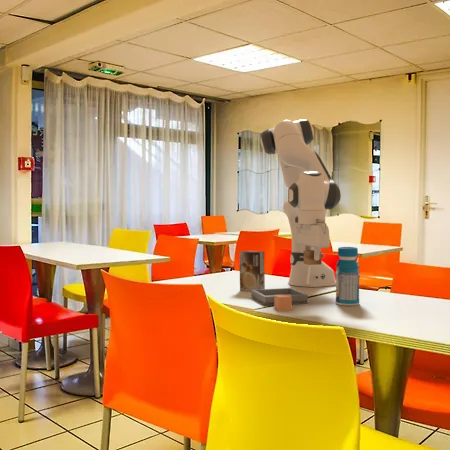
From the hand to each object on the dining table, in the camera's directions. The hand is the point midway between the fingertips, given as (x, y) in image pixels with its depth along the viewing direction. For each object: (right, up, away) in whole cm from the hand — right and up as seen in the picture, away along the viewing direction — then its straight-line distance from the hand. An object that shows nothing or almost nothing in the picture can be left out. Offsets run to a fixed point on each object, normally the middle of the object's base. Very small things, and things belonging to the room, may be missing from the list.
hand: (312, 259), depth 184 cm
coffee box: (-19, -15, +35) cm, 43 cm away
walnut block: (0, -2, 0) cm, 2 cm away
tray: (-10, -16, +14) cm, 23 cm away
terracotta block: (-10, -17, -2) cm, 20 cm away
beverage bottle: (+13, -16, +6) cm, 22 cm away
